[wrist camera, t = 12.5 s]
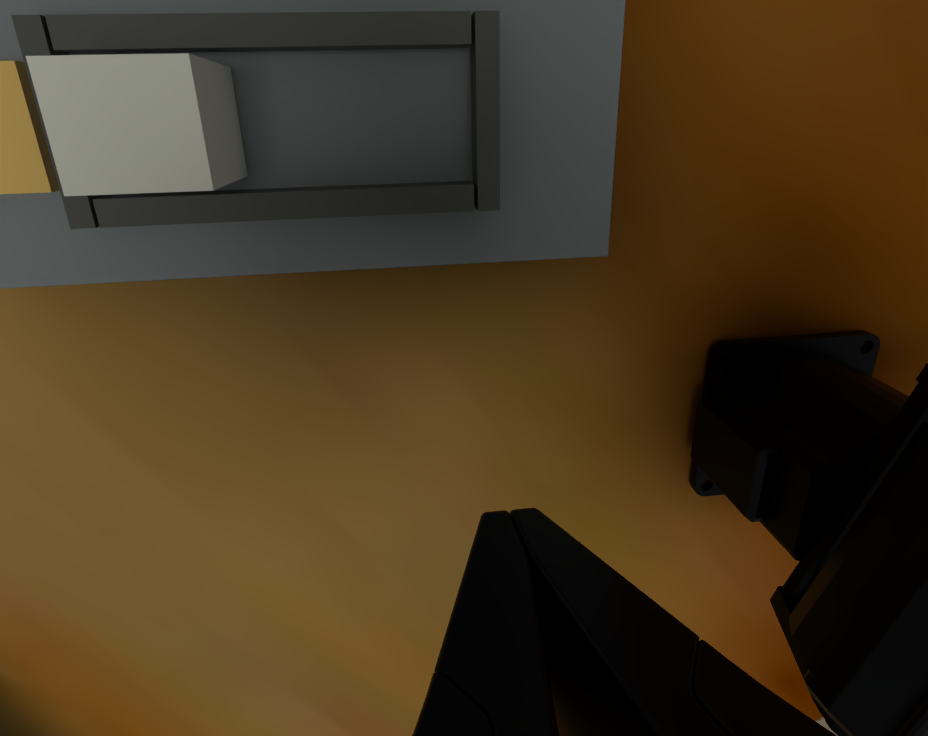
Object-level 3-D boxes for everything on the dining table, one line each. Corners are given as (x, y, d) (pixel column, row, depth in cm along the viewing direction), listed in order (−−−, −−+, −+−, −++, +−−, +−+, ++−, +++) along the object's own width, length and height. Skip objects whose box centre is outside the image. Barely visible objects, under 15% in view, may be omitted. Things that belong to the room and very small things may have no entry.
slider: (230, 66, 15) (188, 53, 12) (247, 175, 16) (213, 190, 13) (104, 69, 15) (25, 55, 11) (129, 180, 16) (64, 196, 12)
